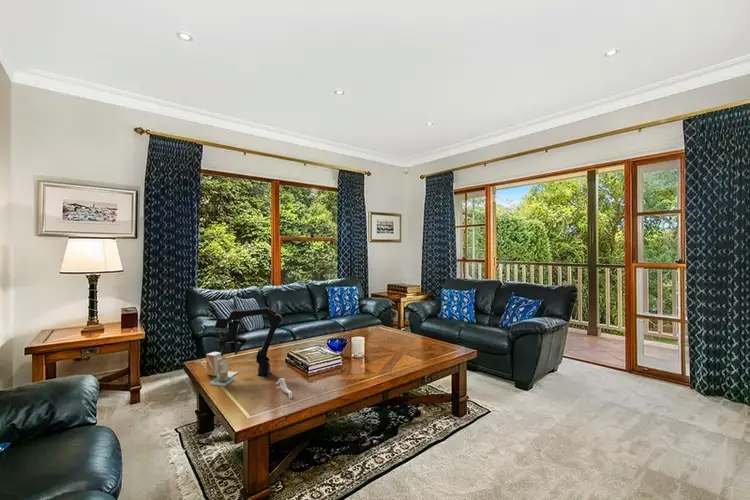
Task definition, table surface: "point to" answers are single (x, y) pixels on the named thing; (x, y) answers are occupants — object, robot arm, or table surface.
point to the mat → (232, 374)
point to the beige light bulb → (222, 370)
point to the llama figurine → (284, 387)
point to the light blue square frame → (221, 383)
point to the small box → (212, 363)
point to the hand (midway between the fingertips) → (228, 355)
